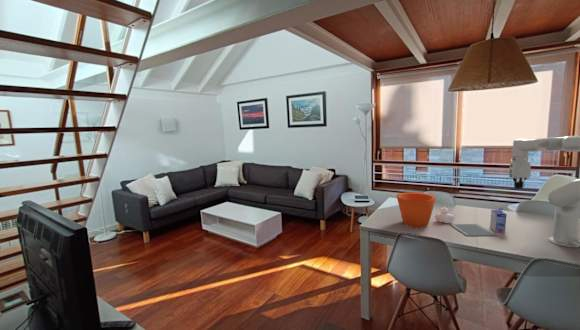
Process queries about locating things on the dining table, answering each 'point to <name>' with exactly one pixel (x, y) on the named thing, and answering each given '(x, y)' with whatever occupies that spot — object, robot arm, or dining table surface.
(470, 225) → the mat
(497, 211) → the ink cartridge box
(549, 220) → the dining table surface
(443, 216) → the white lumpy piece
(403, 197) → the flowerpot
